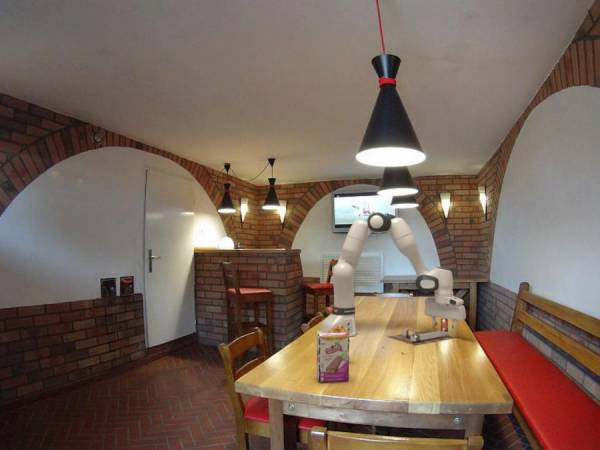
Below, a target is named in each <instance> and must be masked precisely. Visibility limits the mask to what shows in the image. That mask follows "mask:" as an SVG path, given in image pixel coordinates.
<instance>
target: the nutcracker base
mask: <svg viewBox="0 0 600 450" xmlns="http://www.w3.org/2000/svg"><path fill="white" fill-rule="evenodd" d="M408 330H410V329H408V328H404V329H402V330H401V334H395V335H388V336H387V338H390V339H393V340H395V341H399V342H402V343H405V344H408V345H411V346H414V347H415V346H421V345H426V344H431V343H437V342H443V341H447V340H453V339H457V337H454V336H452V335H446V336H441V337H436V338H430V339H425V340H420V342H414V341H411V340H410V339H408ZM431 332H434V331H432V330H429V329H426V330H420V331H417V335H419V334H425V333H431Z"/></svg>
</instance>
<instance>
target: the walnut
mask: <svg viewBox="0 0 600 450" xmlns="http://www.w3.org/2000/svg"><path fill="white" fill-rule="evenodd" d="M417 332H418V331H417V330H415V329H409V330H408V339H410V340H411V336H412V335H413V334H417Z"/></svg>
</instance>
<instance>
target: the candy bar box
mask: <svg viewBox="0 0 600 450" xmlns="http://www.w3.org/2000/svg"><path fill="white" fill-rule="evenodd" d="M349 340H350V336H349V335H348V334H346V333H317V332H316V380H317V381H318V383H319V384H321V383H339V382H349V381H350V342H349Z"/></svg>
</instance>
